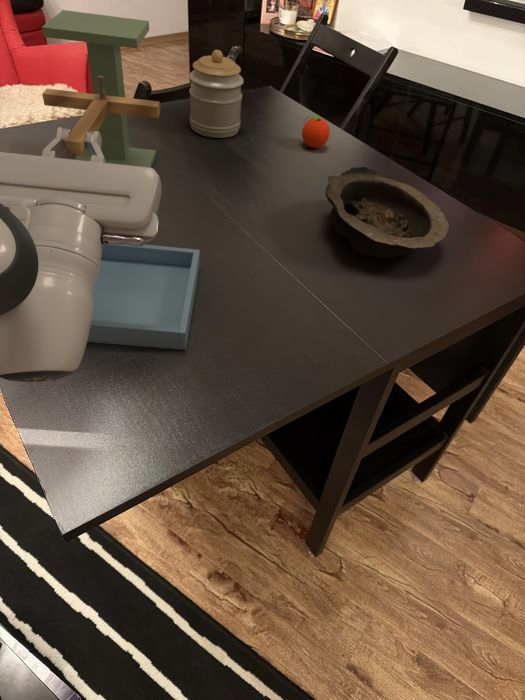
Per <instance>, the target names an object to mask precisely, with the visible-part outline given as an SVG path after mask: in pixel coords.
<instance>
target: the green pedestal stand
mask: <svg viewBox="0 0 525 700" xmlns="http://www.w3.org/2000/svg"><path fill="white" fill-rule="evenodd" d="M41 29H42V35H43V37H44V38H49V39H58V40H64V41H75V42H81V43H86V51H87V58H88V66H89V73H90V80H91V86H92V94H99V87H98V79H97V76H103V77H104V84H105V93H106V95H107V96H116V97H124V98H126V93H125V82H124V81H125V80H124V70H123V60H122V51H121V49H122V48H128V49H129V48H130V49H138V48H139V47H140V45H141V44H142V42H143V40H144V39H145V37H147V34H148V33H149V31H150V21H149V20H143V19H137V18H129V17H120V16H114V15H113V16H112V15H104V14H98V13H89V12H83V11H82V12H81V11H75V10H74V11H73V10H65V9H62V10H61V11H60V12H58V13H57V14H56V15H55V16H54V17H52V18H51V19H50V20H49V21H47V22H46V23H45V24H44V25H42V26H41ZM121 47H122V48H121ZM99 95H100V94H99ZM128 123H129V122H128V115H125V114H117V113H108V114H107V116H106V117H105V119H104V121H103V122H102V124H101V126H100V127H99V129H98V130H97V131H98V132H100V135H101V138H102V145H101V151H102V153H103V155H104V158H105V161H106V163H111V164H121V165H130V166H140V167H149V168H153V164H154V161H155V159H156V156H157V150H156V149H150V148H149V149H148V148H141V147H140V148H138V147H131V144H130V134H129V124H128ZM92 155H96V154H95V152H91V151H88V150H87V149H86V150H85V152H84V154H83V155H75V158H73V160H82V161H91V156H92Z"/></svg>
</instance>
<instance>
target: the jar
mask: <svg viewBox="0 0 525 700" xmlns="http://www.w3.org/2000/svg"><path fill="white" fill-rule="evenodd" d="M192 69H193V70H192V71H191V72H190V73H189V75H188V77H189V80H190V81H191V84H190V88H189V90H188V92H189V116H188V117H189V124H190V128H191V129H192V131H193V132H194V133H196V134H198V135H201V136H204V137H207V138H215V139H223V138H229V137H233V136H235V135H237V134H238V133H239V132H240V128H241V124H242V123H241V122H242V119H241V113H242V99H243V92H242V85H243V84H244V82H245V81H244V78H243V77H242V75H240V73H241V71H242V69H241V67H240V65H238V64H237V63H236V62H235V61H234V60H233V59H231V58H229V57H226V56H224V54H223V52H222V51H221V50H220V49H214V50H213V51H212V52H211V55H203V56H201V57H199V58H198V59H197V60H195V61H194V62H193V63H192Z"/></svg>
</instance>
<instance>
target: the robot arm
mask: <svg viewBox="0 0 525 700" xmlns="http://www.w3.org/2000/svg"><path fill="white" fill-rule="evenodd" d="M72 130H73V128H68V127H60V126H58V127H57V130H56V135H55V138H53V139H52V140H51V141H50V142H49V143H48V144H47V145H46V146H45V147H43V149H42V153H41V155H34V154H24V153H23V154H22V153H15V152H14V153H13V152H6V151H5V152H3V151H0V378H1V379H4V380H6V381H12V382H19V383H23V382H24V383H33V382H35V383H36V382H38V383H39V382H48V381H56V380H59V379H62V378H65V377H67V376H70V375H71V374H73V373H74V372H76V370H77V369H79V367H80V364H81V362H82V361H83V359H84V355H85V352H86V348H87V344H88V342H87V341H88V336H89V332H90V327H91V321H92V316H93V309H94V305H93V298H92V291H93V287H94V284H95V282H96V280H97V278H98V275H99V270H100V264H101V257H102V250H103V244H114V245H124V244H125V245H131V246H136V247H139V246H143V244H145V245H146V244H150V243H151V242H153V241H154V240H155V239H156V238H157V236H158V233H159V227H160V226H159V225H160V218H159V216H158V211H159V209H160V208H159V207H160V205H161V200H162V195H163V194H162V193H163V187H162V181H161V177H160V175H159V174H158V172H157V171H156V170H155V169H154V167H151V168H149V167H140V166H130V165H121V164H111V163H106V161H105V158H104V155H103V153H102V151H101V145H102V138H101V135H100V132H99V130H97V131H89V130H86V133H85V134H86V136H85V140H84V142H85V145H86V146H87V150H88V151H91V152H95V154H96V155H92V156H91V161H82V160H74V158H62V157H61V156H62V155H63V154H64V153H65V151H66V146H65V140H66V138H67V137H68V135H69V134H70V132H71V131H72Z"/></svg>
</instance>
